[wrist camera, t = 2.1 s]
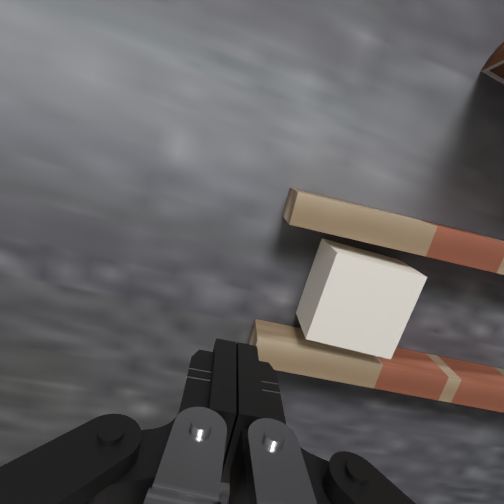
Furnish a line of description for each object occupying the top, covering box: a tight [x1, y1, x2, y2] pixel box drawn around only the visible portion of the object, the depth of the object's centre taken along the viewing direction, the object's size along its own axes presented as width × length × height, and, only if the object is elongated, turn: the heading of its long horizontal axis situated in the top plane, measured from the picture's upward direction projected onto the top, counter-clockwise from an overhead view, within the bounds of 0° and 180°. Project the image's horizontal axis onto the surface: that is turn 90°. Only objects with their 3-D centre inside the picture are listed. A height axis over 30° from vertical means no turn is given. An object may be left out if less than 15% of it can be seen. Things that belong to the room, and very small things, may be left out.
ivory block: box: [296, 238, 427, 359], centre depth 23 cm, size 6×6×4 cm
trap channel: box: [249, 188, 504, 413], centre depth 24 cm, size 12×28×3 cm, turn 76°
